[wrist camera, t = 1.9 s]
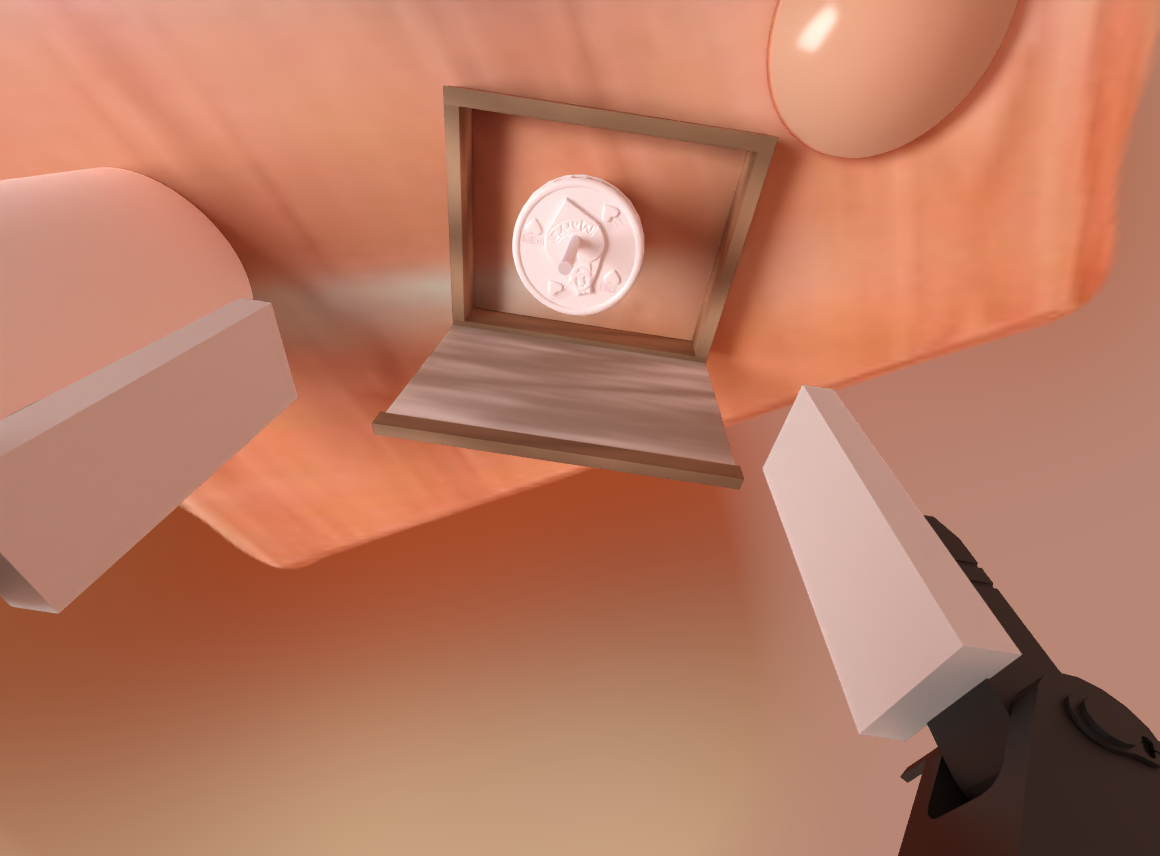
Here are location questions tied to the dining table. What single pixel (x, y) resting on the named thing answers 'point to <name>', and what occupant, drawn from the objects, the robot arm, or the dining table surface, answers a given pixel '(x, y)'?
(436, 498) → the dining table surface
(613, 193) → the smoothie
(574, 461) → the box
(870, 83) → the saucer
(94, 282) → the canister
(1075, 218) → the dining table surface
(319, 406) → the dining table surface
